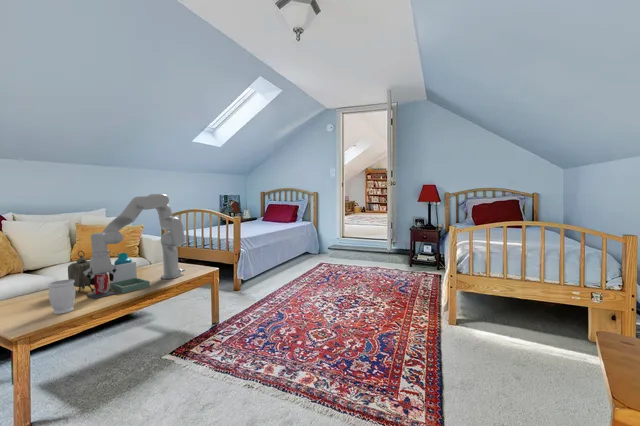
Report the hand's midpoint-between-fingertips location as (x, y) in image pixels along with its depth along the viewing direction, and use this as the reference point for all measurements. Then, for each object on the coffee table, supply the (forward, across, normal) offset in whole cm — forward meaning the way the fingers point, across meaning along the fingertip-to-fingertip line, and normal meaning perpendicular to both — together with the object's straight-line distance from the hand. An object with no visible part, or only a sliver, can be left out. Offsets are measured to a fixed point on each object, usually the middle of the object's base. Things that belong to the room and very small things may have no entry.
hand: (102, 282), depth 186 cm
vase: (+7, -20, -19) cm, 29 cm away
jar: (+7, +23, +13) cm, 27 cm away
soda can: (+6, 0, 0) cm, 6 cm away
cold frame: (+7, -15, 0) cm, 17 cm away
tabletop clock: (+7, +4, -18) cm, 20 cm away
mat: (+7, 0, 0) cm, 7 cm away
